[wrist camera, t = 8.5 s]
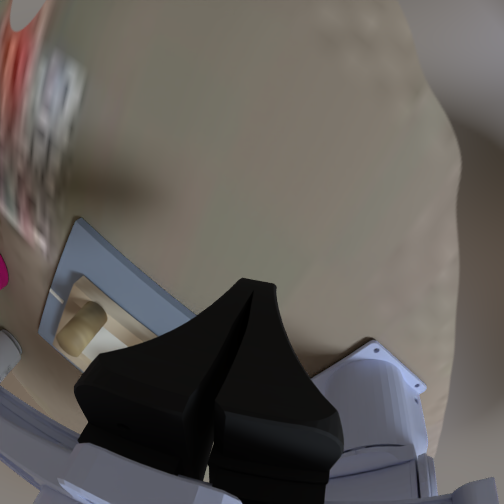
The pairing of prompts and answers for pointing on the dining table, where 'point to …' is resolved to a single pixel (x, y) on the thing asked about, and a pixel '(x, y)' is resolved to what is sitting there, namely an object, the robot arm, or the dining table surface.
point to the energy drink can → (8, 353)
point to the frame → (95, 325)
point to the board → (108, 285)
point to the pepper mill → (3, 274)
